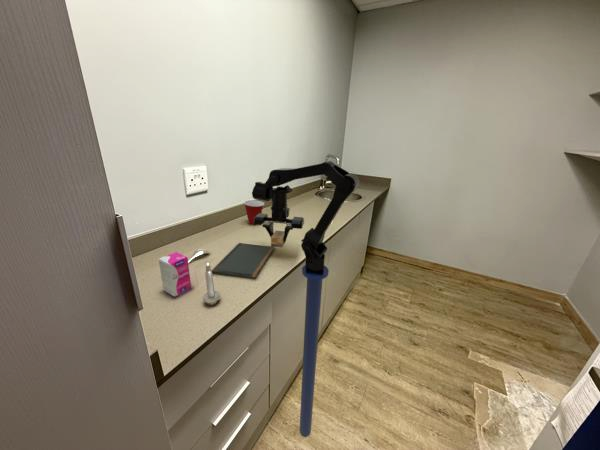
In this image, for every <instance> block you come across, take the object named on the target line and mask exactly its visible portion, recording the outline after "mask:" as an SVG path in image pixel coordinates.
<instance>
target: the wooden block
mask: <svg viewBox="0 0 600 450" xmlns="http://www.w3.org/2000/svg"><path fill="white" fill-rule="evenodd" d="M284 231H285V230H274V234H273V235H272V236H271V237H270V246H271V247H274V248H281V249H283V247H284V246H285V244H286V242H287V240H286V241H285V242H284Z"/></svg>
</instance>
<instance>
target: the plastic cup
mask: <svg viewBox="0 0 600 450" xmlns="http://www.w3.org/2000/svg"><path fill="white" fill-rule="evenodd" d="M243 204H244V207H245V212H246V218H247V221H248V224H249V225H251V226H258V225H257V224H254V217H255V216H257V215H258V214H259V213H261V214H263V208H264V206H265V202H264V201H262V200H256V199H251V200H250V199H248V200H244V202H243Z"/></svg>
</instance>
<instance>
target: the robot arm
mask: <svg viewBox="0 0 600 450" xmlns="http://www.w3.org/2000/svg"><path fill="white" fill-rule="evenodd" d="M322 175H324V177H326V178H327V179H328V180H329V181H330V182H331V183H332V184H333V185H334V186H335V187H334V190H333V194H332V195H333V196H332V198H331V200H330V202H329V204H328V205H327V207H326V208H325V211H324V212H323V214H322V216H321V217H320V218H319V221H318V222H317V224H316V225H315V227H310V229H309V230H307V231H306V232H305V234H304V237H303V238H302V239H301V241H300V242H301V244H300V245H301V250H302V251H303V253H304V256H305V265H304V266H305V269H306V273H310V274H318V275H323V272H324V266H325V258H326V254H325V253H326V252H327V251H328V247H327V246H326V244H325V243H324V239H325V236H326V232H327V230H328V229H329V227H330V225H331V224H332V223H333V221H334V219H335V218H336V216H337V214H338V213H339V211H340V209H341V208H342V206H343V205H344V203H345V202H346V201H347V199H349V197H350V196H351V195H353V193H354V192H355V191H356V190H357V189H358V188H359V186H360V178H359V177H358V175H356V174H355V173H351V172H349V171H347V170H346V169H344V168H342V167H340V166H339V165H337V164H336V163H334V162H333V161H332V160H327V161H324V162H321V163H316V164H311V165H307V166H301V167H295V168H293V167H281V168H277V169H272V170H271V171H270V172H269V174H268V177H267V179H266V181H265V182H262V181H255V182H254V186H253V188H252V191H251V196H252V198H253V200H257V201H261V202H270V201H271V207H270V211H271V216H269V215H268V213H259V214H258V215H257V216H255V217H254V224H257V225H256V226H262V228H265V230H266V232H267V234H268V235H269V237H270V238H271V236H272V235H273V234H274V232H275V230H274V224H283V225H284V224H285V227H284V230H283V231H284V242H285V241H286V242H287V239H288V237H289V233H290V231H292V230H293V229H298V230H300V229H303V227H304V224H305V218H304V216H303V217H302V216H293V218H289V217H290V210H291V208H290V207H288V194H289V193H292V192H293V189H292V187H290V186H289V185H288V183H291V182H294V181H295V180H300V179H307V178H312V177H318V176H322ZM286 184H287V185H286ZM283 185H284V186H283ZM286 242H285V243H286Z"/></svg>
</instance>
